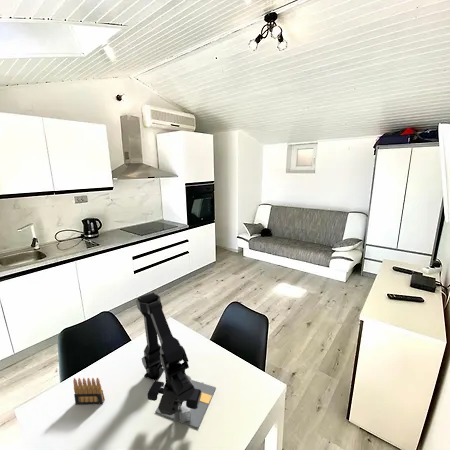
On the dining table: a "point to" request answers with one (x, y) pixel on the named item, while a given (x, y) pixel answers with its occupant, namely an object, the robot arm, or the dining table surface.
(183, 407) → the elbow
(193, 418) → the base
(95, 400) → the ammunition clip
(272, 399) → the dining table surface
